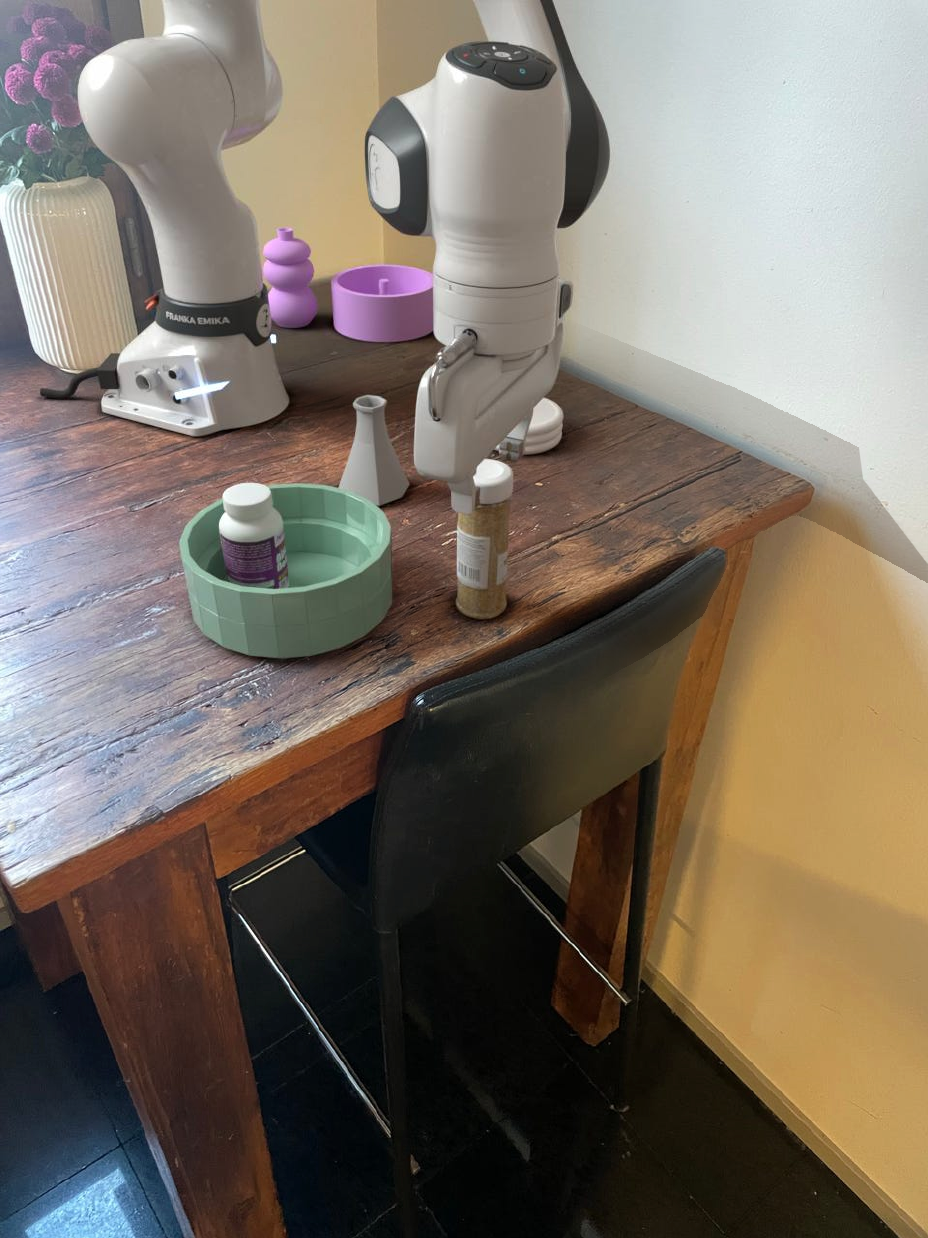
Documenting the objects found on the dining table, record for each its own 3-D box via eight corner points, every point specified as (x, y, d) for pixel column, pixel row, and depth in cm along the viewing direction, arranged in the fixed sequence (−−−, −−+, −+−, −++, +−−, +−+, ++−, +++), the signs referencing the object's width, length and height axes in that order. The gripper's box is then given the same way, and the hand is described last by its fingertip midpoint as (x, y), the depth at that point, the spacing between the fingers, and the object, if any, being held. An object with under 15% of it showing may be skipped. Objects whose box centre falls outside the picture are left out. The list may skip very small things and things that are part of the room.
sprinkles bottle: (516, 610, 82) (525, 474, 74) (473, 627, 80) (477, 488, 72) (487, 585, 85) (492, 451, 77) (444, 601, 83) (445, 465, 75)
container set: (436, 307, 146) (436, 217, 138) (436, 342, 134) (436, 246, 126) (275, 305, 145) (266, 215, 137) (260, 340, 133) (249, 244, 125)
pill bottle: (296, 599, 82) (286, 503, 76) (235, 612, 80) (220, 514, 74) (282, 567, 86) (271, 473, 80) (224, 578, 84) (208, 483, 78)
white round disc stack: (488, 414, 115) (489, 387, 113) (568, 425, 113) (571, 397, 110) (466, 449, 107) (467, 420, 105) (552, 461, 105) (554, 433, 103)
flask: (381, 514, 95) (377, 423, 89) (325, 494, 98) (318, 405, 92) (421, 485, 100) (420, 397, 94) (366, 467, 103) (362, 381, 97)
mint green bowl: (154, 642, 78) (138, 572, 73) (247, 535, 91) (238, 471, 87) (351, 681, 74) (346, 610, 70) (417, 564, 88) (417, 498, 84)
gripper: (476, 367, 58) (473, 554, 67) (581, 278, 73) (568, 440, 82) (387, 351, 60) (394, 534, 69) (507, 267, 75) (501, 426, 84)
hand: (489, 482), depth 75 cm, fingers open, 8 cm apart
